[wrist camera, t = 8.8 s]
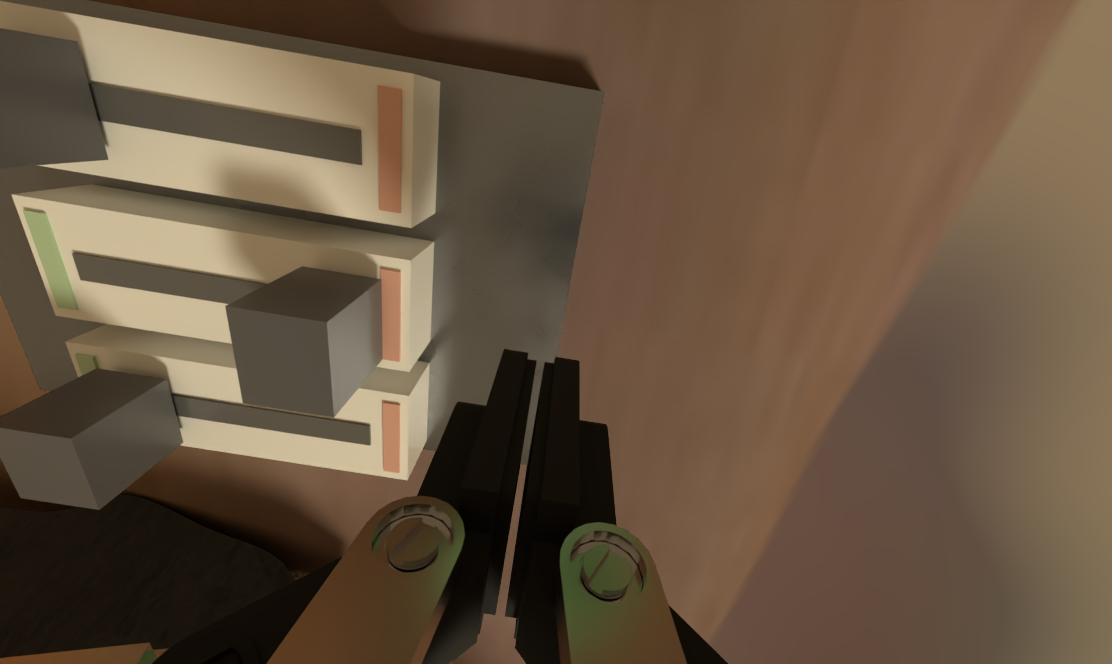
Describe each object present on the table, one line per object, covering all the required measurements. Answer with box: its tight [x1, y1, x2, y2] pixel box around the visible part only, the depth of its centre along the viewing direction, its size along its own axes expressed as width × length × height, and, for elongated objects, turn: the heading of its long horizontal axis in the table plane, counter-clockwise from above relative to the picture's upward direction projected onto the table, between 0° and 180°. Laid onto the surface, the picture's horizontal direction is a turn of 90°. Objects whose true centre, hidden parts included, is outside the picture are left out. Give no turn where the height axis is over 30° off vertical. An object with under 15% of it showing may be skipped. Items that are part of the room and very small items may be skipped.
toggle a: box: [0, 368, 183, 510], centre depth 14 cm, size 3×2×3 cm
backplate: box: [0, 0, 604, 465], centre depth 17 cm, size 15×22×1 cm
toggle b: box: [225, 266, 383, 418], centre depth 12 cm, size 3×2×3 cm
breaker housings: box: [0, 1, 440, 480], centre depth 15 cm, size 14×12×2 cm
